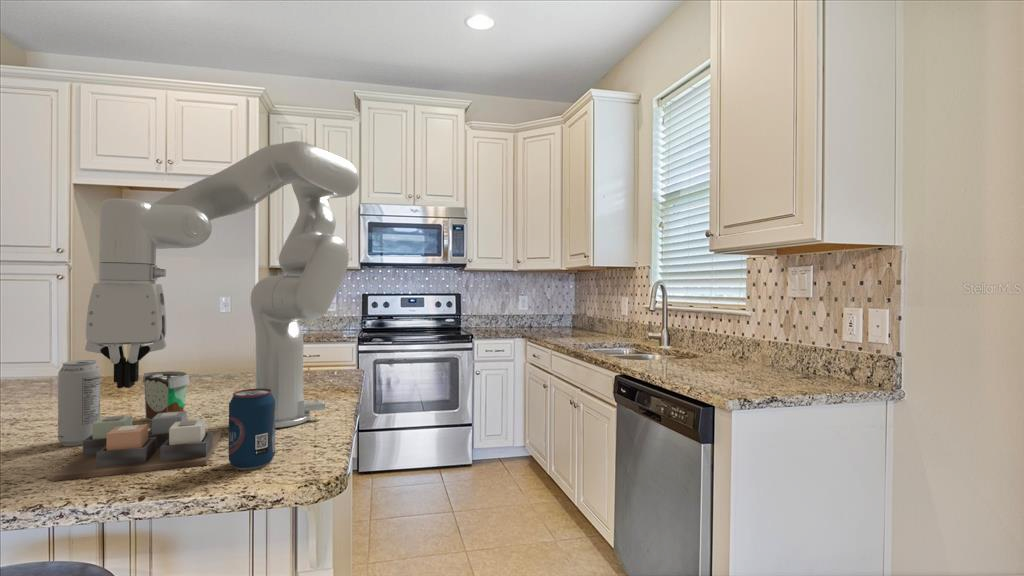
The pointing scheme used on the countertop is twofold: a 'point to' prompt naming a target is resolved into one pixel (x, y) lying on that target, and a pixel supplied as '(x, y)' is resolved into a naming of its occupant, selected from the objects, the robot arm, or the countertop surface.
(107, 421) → the sage key
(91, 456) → the keypad
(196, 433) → the ivory key
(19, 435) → the countertop surface
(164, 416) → the slate key
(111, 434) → the terracotta key
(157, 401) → the food container
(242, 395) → the soda can
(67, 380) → the energy drink can
